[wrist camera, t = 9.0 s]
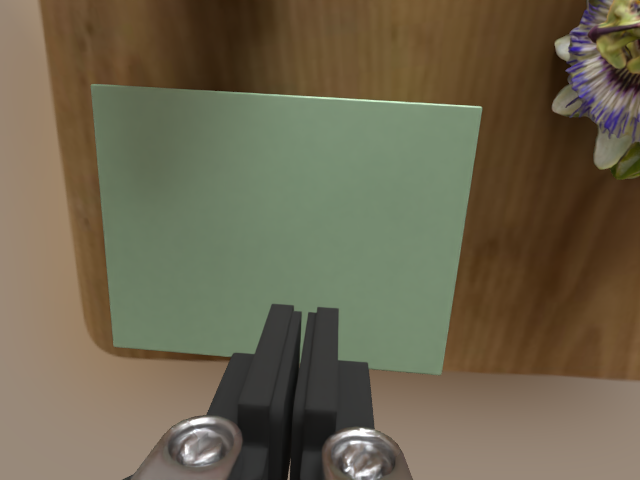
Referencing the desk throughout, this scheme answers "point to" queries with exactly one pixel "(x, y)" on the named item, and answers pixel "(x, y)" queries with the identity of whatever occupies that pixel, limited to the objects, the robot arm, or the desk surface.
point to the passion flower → (606, 81)
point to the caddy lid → (282, 218)
